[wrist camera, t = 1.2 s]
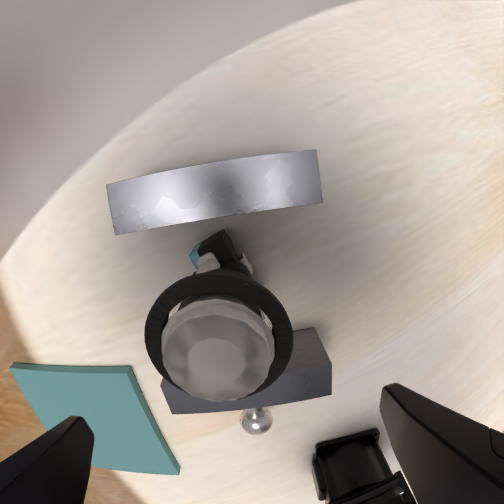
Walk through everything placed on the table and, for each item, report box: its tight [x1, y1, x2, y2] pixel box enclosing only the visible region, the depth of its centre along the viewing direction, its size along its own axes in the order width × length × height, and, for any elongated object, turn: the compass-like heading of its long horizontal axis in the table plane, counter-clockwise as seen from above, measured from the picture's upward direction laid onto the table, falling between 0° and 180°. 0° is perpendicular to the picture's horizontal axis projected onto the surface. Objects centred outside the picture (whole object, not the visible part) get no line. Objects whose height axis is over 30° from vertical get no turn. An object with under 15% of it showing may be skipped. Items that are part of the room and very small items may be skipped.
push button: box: [144, 229, 293, 402], centre depth 14 cm, size 7×5×10 cm
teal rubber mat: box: [10, 363, 180, 475], centre depth 22 cm, size 14×14×1 cm
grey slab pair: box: [106, 150, 332, 435], centre depth 17 cm, size 10×19×4 cm, turn 8°
